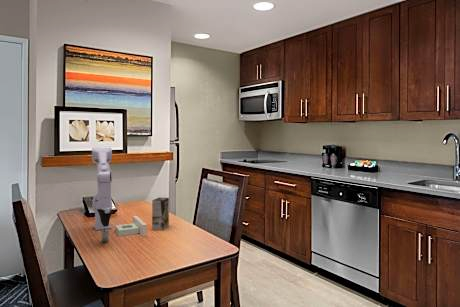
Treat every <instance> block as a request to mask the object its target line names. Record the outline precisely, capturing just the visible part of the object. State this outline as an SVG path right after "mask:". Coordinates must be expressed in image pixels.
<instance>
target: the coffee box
mask: <svg viewBox="0 0 460 307" xmlns="http://www.w3.org/2000/svg"><path fill="white" fill-rule="evenodd" d="M169 202H170V198H169V197H157V198H155V199H153V200H151V204H152V205H151V206H152V207H151V219H152V220H151V221H152V222H151V227H152V228H151V230H154V231H155V230H156V231H163V230H165V229H167V228H168V227H169V226H170V224H169V223H170V203H169Z"/></svg>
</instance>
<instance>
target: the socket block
mask: <svg viewBox="0 0 460 307" xmlns="http://www.w3.org/2000/svg"><path fill="white" fill-rule="evenodd" d="M114 231H116V234H117V236H118V237H124V236H132V234H133V235H139V234H140V233H139V227H138V226H137V225H136V224H135V223H133V222H132V223H125V224H115V225H114ZM138 233H139V234H138Z"/></svg>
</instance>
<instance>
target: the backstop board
mask: <svg viewBox="0 0 460 307" xmlns="http://www.w3.org/2000/svg"><path fill="white" fill-rule="evenodd" d="M132 223H135V224H136V225H137V226H138V227H139V235H140V236H141V237H147V236H148V234H147V233H148V232H147V231H148V228H147V225H148V224H147V223H146V222H144V221H143V220H142V219H141V218H140V217H139V216H137V215H132Z"/></svg>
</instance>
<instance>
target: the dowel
mask: <svg viewBox="0 0 460 307" xmlns="http://www.w3.org/2000/svg"><path fill="white" fill-rule="evenodd" d="M108 243H109V228H108V229H101V244H108Z"/></svg>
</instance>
